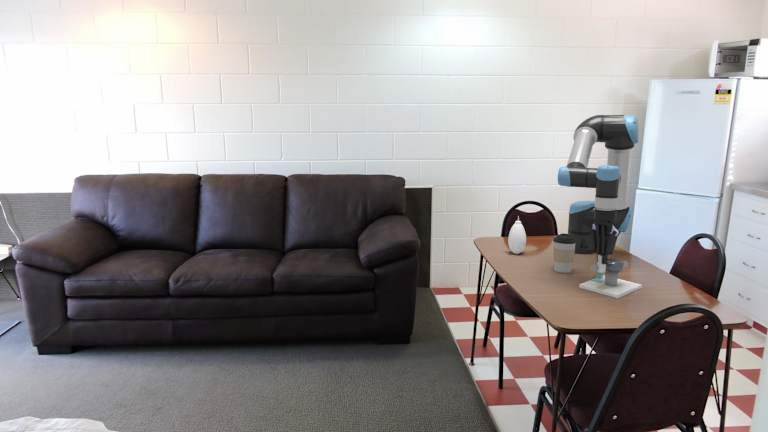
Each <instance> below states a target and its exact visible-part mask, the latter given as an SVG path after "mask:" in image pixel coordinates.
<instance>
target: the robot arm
mask: <svg viewBox="0 0 768 432" xmlns="http://www.w3.org/2000/svg"><path fill="white" fill-rule="evenodd" d="M639 140H640V139H639V122H638V118H637V116H635V115H626V114H596V115H593V116H590V117H588V118H586V119H584V120H583V121H582V122H581V123H580V124H578V126H577V127H576V128H575V130H574V133H573V141H574V142H573V144H572V147H571V152H570V153H569V157H568V161H567V163H566V166H560V167H559V168H558V172H557V184H558V185H559V186H561V187H567V188H585V189H586V188H588V189H595V195H594V200H581V201H580V200H579V201H575V202H572V203H571V204H569V211H568V226H567V234H568V235H571V236H573V237H574V238H575V239H576V244H575V253H574V254H581V255H588V254H589V255H591V254H595V253H596V254H597V255H596V262H597V264H598V267H597V270H596V273H597V272H599V273H602V272H603V273H605V270H606V264H607V258H608V257H609V256H610V255H611V256H612V255H613V253H614V251H615V248H616V247H615V246H616V243H617V241H618V237H619V236H620V235H621V233H625V232H627V231H628V228H629V225H630V222H631V217H632V213H633V208H632V207H631V206H630V204H629V202H628V201H627V190H628V178H629V166H630V164H629V163H630V153H631V150H633V149H634V148H635V145H637V144H638V143H639ZM596 143H604V148H605V149H606V150H608V151H607V164H606V165H599V166H597V168H596V167H595V168H594V167H588V166H589V162H590V158H591V154H592V151H593V147H594V145H595V144H596Z"/></svg>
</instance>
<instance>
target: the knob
mask: <svg viewBox="0 0 768 432" xmlns="http://www.w3.org/2000/svg"><path fill="white" fill-rule="evenodd" d="M628 265H629V262H628V261H626V260H621V259H617V258H611V257H610V258H607V264H606V270H605V271H609V272H618V273H621V272H624V268H628ZM597 267H598V263H592V264H591V270H593V271H597Z"/></svg>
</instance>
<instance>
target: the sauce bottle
mask: <svg viewBox="0 0 768 432" xmlns="http://www.w3.org/2000/svg"><path fill="white" fill-rule="evenodd" d="M508 233H509V234H508V238H507V239H508V240H507V243H508V248H509V250H510V251H511V252H512V254H515V255H519V254H521V252H524V250H525V248H526V244H527V234H526V233H527V232H526V231H525V227H524V226H523V224H522V221H521V220H520V216H519V215H518V216H517V220H515V222H514V224H513V225H512V226H511V228H510V230H509V232H508Z"/></svg>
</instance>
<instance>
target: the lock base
mask: <svg viewBox="0 0 768 432" xmlns="http://www.w3.org/2000/svg"><path fill="white" fill-rule="evenodd" d="M604 273H605V274H604ZM578 285H579V286H578V288H580V289H584V290H587V291H590V292H594V293H597V294H599V295H600V294H601V295H604V296H608V297H610V298H614V299H619V298H621V297H624V296H627V295H628V294H631V293H633V292H635V291H638V290H641V289H642V288H643V284H640V283H636V282H632V281H629V280H625V279H623V278H622V279H621V278H619V272H609V271H605V272H602V273H599V272H597V271H596V277H595V278H592V279H590V280H587V281H585V282H582V283H580V284H579V283H578Z"/></svg>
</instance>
